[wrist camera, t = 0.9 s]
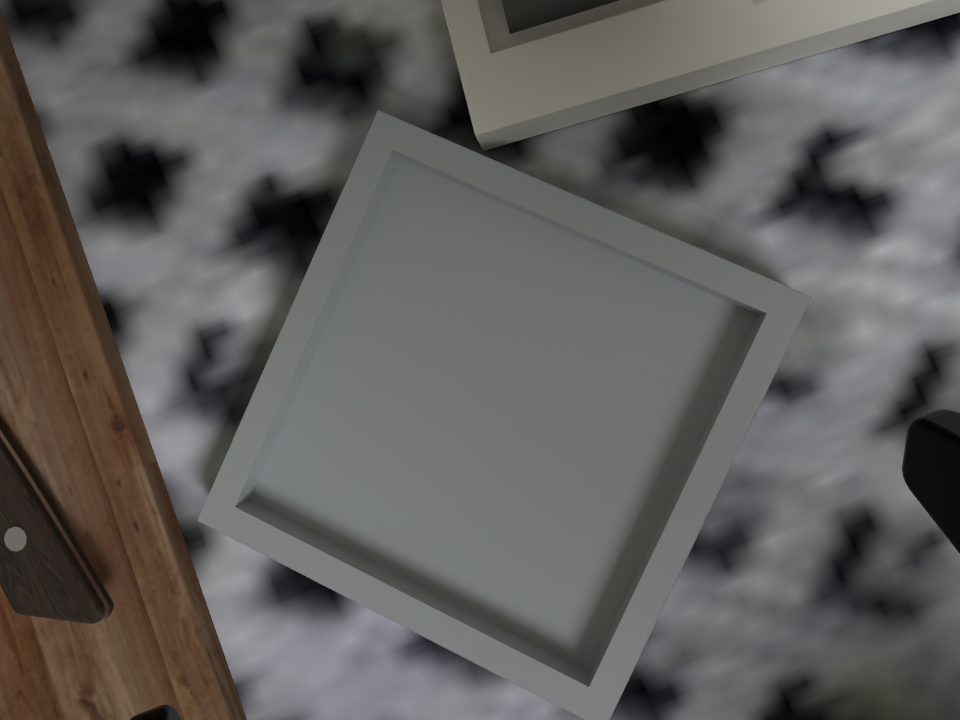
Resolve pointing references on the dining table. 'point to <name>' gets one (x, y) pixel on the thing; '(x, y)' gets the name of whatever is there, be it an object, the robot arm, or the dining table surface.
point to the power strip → (643, 52)
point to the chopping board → (81, 481)
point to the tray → (500, 414)
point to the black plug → (543, 11)
